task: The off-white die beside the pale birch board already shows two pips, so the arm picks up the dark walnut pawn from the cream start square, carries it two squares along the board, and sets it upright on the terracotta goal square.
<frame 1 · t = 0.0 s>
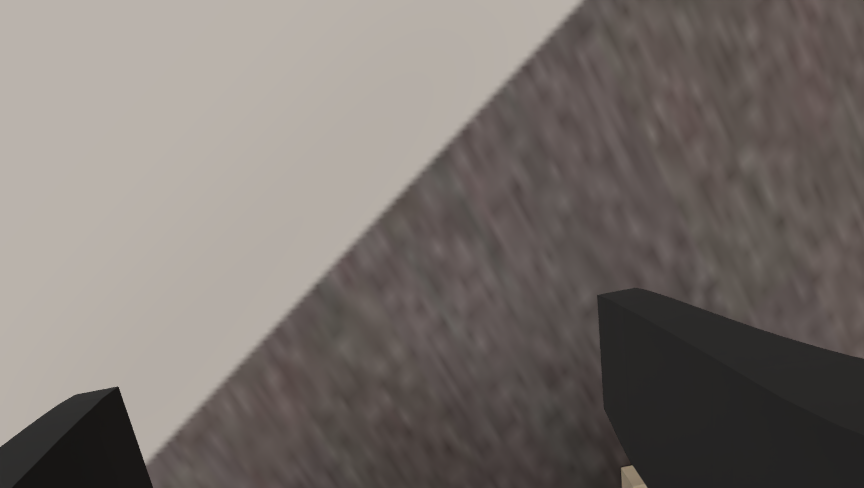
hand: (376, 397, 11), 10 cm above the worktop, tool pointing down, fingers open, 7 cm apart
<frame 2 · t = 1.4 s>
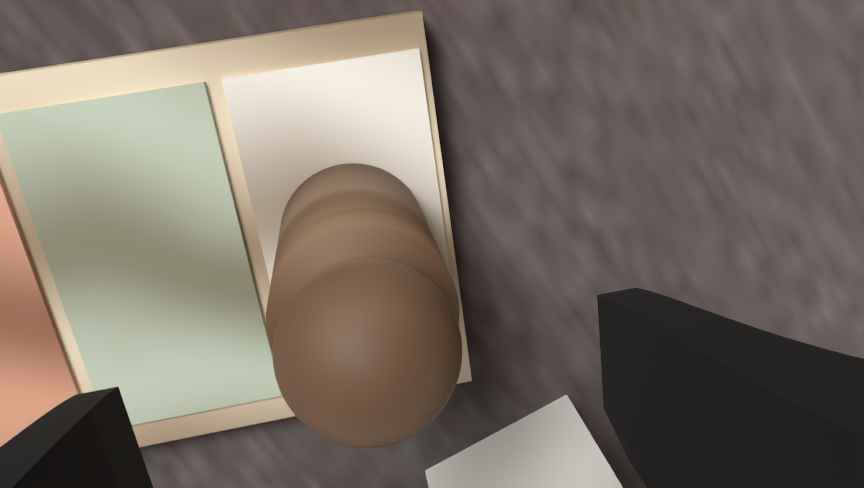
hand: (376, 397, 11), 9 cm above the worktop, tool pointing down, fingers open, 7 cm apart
pawn: (353, 233, 18), point 1 cm above the worktop, touching board
die: (528, 486, 23), on the worktop
board: (161, 252, 18), on the worktop
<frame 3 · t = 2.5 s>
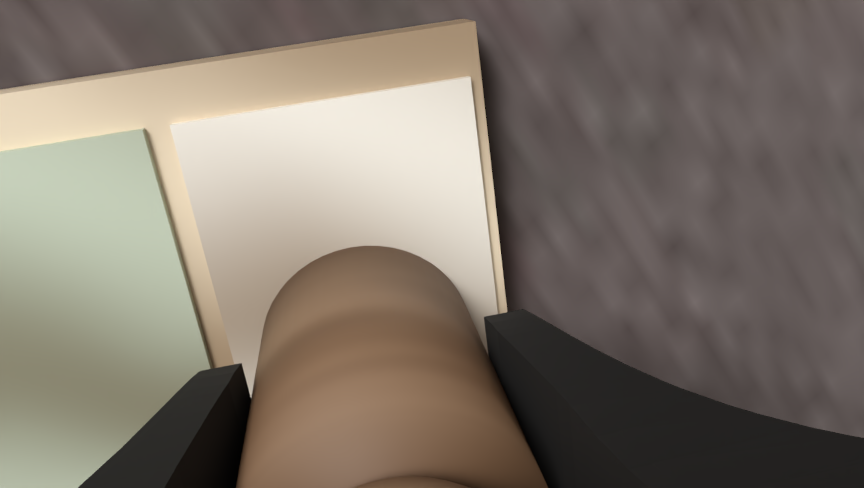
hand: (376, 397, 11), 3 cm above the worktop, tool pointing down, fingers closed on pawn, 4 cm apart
pawn: (368, 343, 12), point 1 cm above the worktop, touching board, gripper
board: (93, 365, 13), on the worktop
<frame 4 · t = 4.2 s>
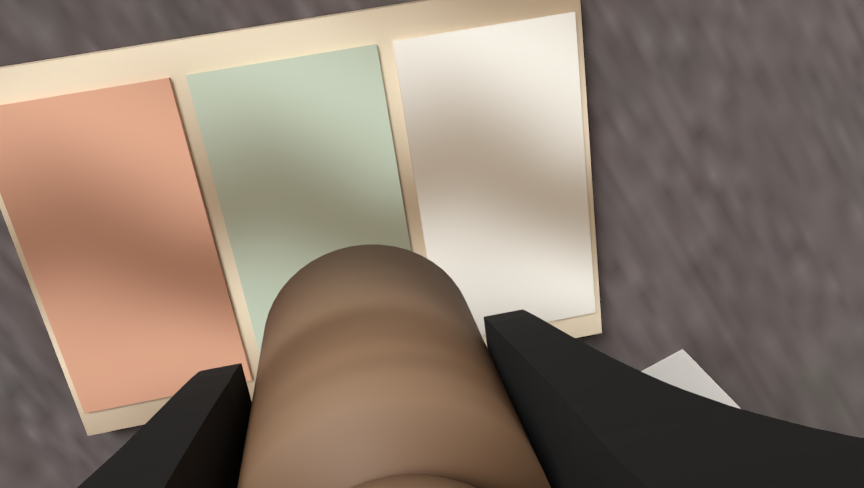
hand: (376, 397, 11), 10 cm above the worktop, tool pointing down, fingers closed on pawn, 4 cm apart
pawn: (370, 342, 12), point 8 cm above the worktop, touching gripper
die: (640, 438, 24), on the worktop
board: (317, 209, 20), on the worktop
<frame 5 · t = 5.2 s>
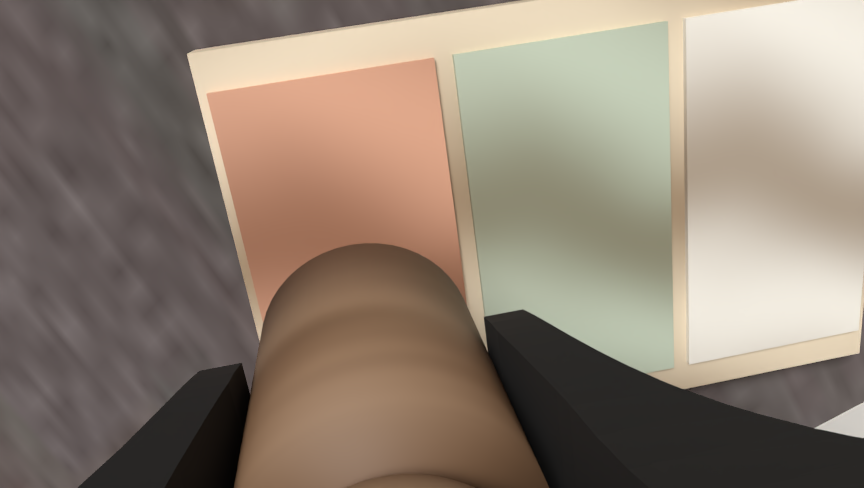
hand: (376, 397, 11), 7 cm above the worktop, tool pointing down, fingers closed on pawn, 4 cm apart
pawn: (368, 341, 12), point 5 cm above the worktop, touching gripper
board: (559, 212, 17), on the worktop
when the fingers open (4 cm above the worktop, at t = 6.0 s): pawn drops 1 cm, resting on board.
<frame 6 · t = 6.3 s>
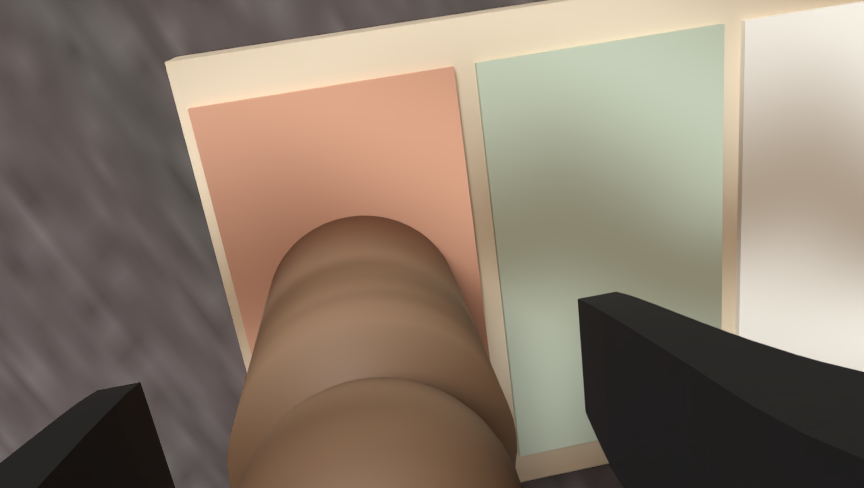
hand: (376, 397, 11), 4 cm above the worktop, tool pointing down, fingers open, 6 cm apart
pawn: (364, 306, 14), point 1 cm above the worktop, touching board
board: (592, 241, 15), on the worktop
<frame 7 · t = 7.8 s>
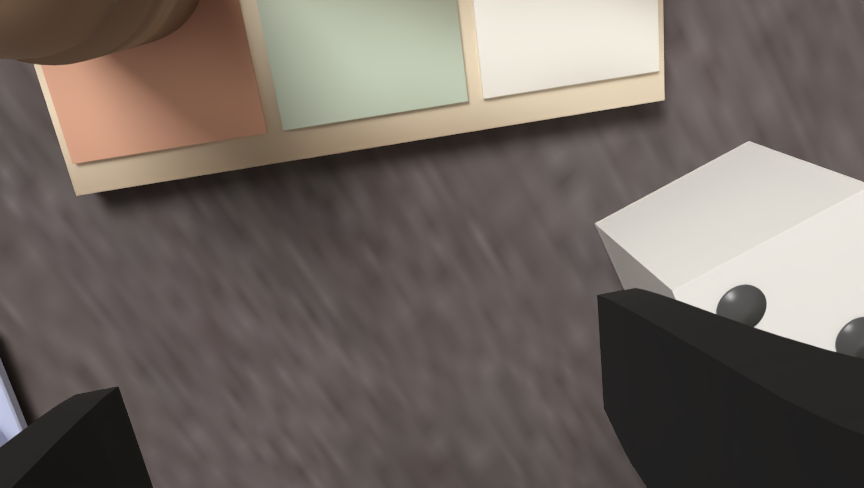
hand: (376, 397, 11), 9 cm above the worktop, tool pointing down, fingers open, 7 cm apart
die: (697, 251, 21), on the worktop
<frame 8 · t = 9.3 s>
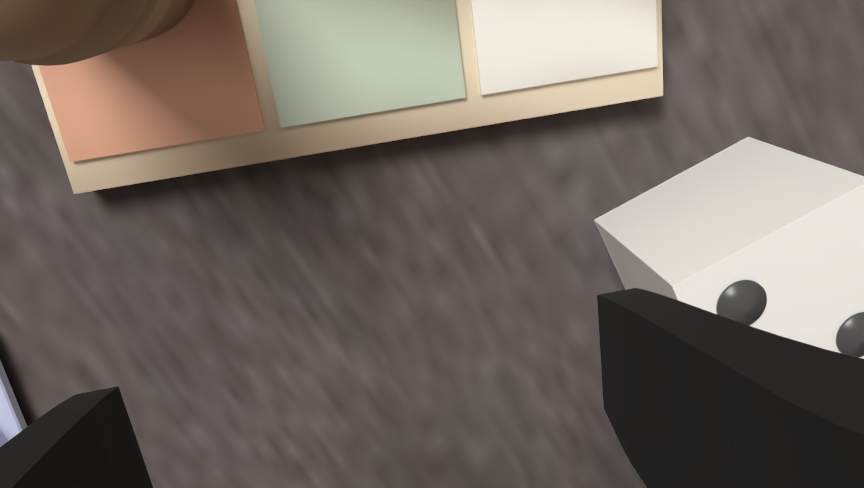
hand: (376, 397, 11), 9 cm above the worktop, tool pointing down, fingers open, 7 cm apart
die: (697, 247, 21), on the worktop
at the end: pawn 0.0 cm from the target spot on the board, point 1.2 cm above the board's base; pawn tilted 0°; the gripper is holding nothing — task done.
